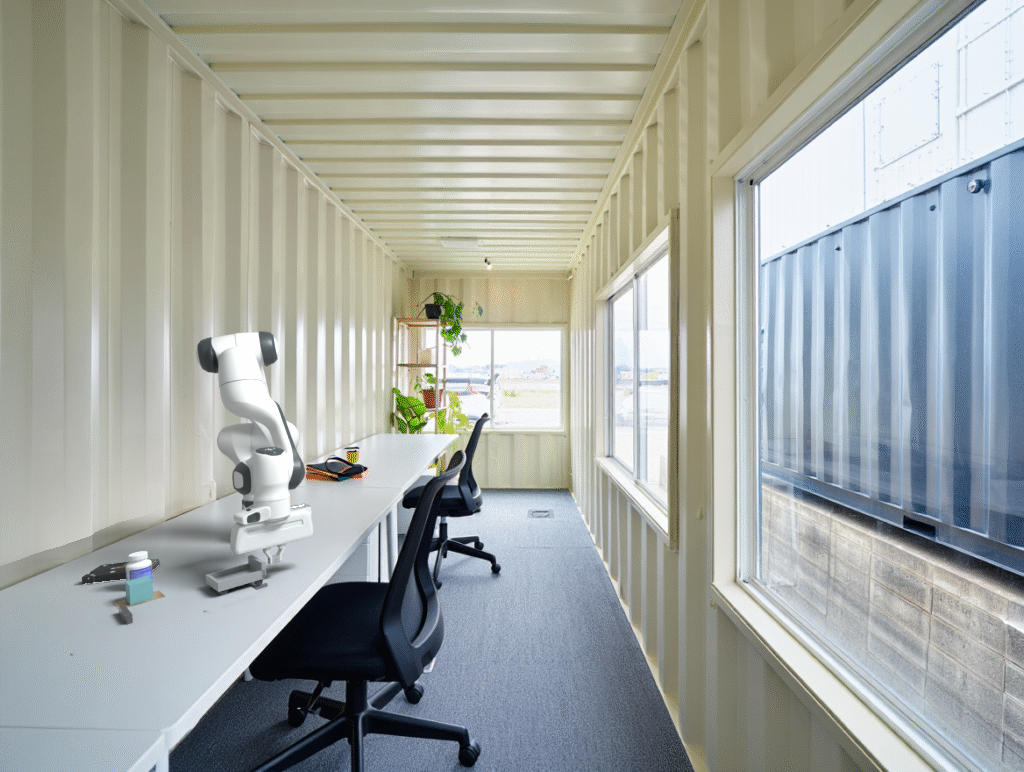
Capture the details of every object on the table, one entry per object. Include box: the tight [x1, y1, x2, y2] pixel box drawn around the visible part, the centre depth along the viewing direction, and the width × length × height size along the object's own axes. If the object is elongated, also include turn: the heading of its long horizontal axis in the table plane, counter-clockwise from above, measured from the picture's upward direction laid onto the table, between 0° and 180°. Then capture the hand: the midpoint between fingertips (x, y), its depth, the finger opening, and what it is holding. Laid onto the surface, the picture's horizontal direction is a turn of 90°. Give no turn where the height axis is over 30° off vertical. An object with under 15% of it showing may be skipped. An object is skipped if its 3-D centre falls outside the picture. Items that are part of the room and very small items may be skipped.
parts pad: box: [113, 590, 166, 610], centre depth 123 cm, size 9×6×1 cm, turn 137°
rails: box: [118, 582, 269, 625], centre depth 123 cm, size 29×8×3 cm, turn 137°
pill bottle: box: [125, 550, 154, 581], centre depth 131 cm, size 5×5×10 cm
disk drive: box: [81, 558, 161, 585], centre depth 145 cm, size 10×3×15 cm
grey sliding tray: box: [205, 554, 267, 596], centre depth 129 cm, size 11×9×6 cm
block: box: [124, 576, 154, 605], centre depth 123 cm, size 4×4×4 cm
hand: (274, 562), depth 136 cm, fingers closed
